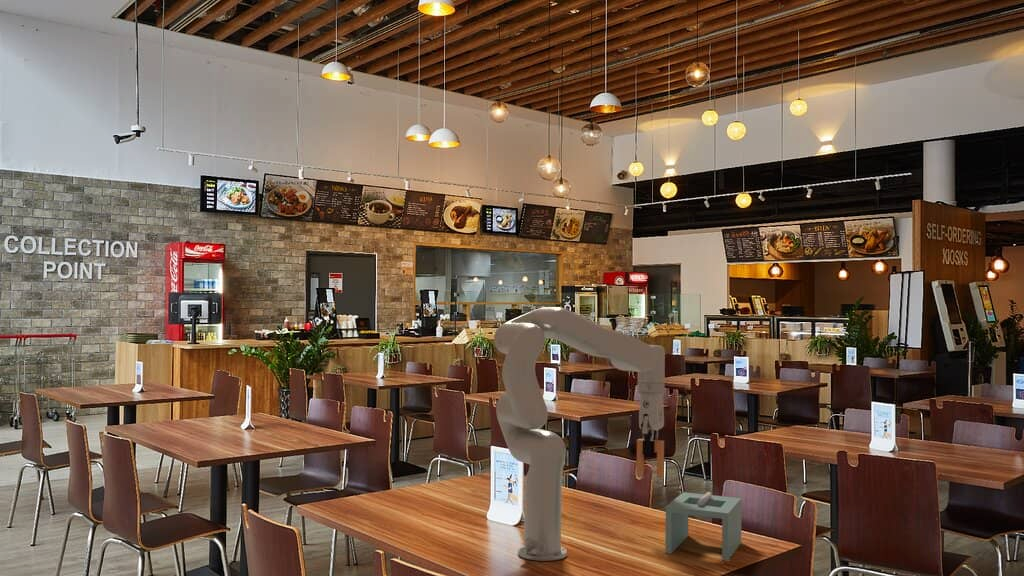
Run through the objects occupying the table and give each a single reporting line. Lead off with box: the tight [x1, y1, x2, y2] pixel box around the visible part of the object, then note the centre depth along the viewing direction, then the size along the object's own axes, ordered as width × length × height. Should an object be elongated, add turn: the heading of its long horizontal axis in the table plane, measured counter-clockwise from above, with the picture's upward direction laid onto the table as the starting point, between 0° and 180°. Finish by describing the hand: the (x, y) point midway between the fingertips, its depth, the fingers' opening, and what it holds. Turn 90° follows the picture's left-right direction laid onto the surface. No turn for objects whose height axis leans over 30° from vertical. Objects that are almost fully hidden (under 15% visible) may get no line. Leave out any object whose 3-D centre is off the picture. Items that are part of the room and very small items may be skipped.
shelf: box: [664, 491, 742, 562], centre depth 214 cm, size 20×16×14 cm
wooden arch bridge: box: [636, 438, 665, 479], centre depth 225 cm, size 7×3×10 cm, turn 65°
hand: (650, 453), depth 225 cm, fingers closed on wooden arch bridge, 3 cm apart
